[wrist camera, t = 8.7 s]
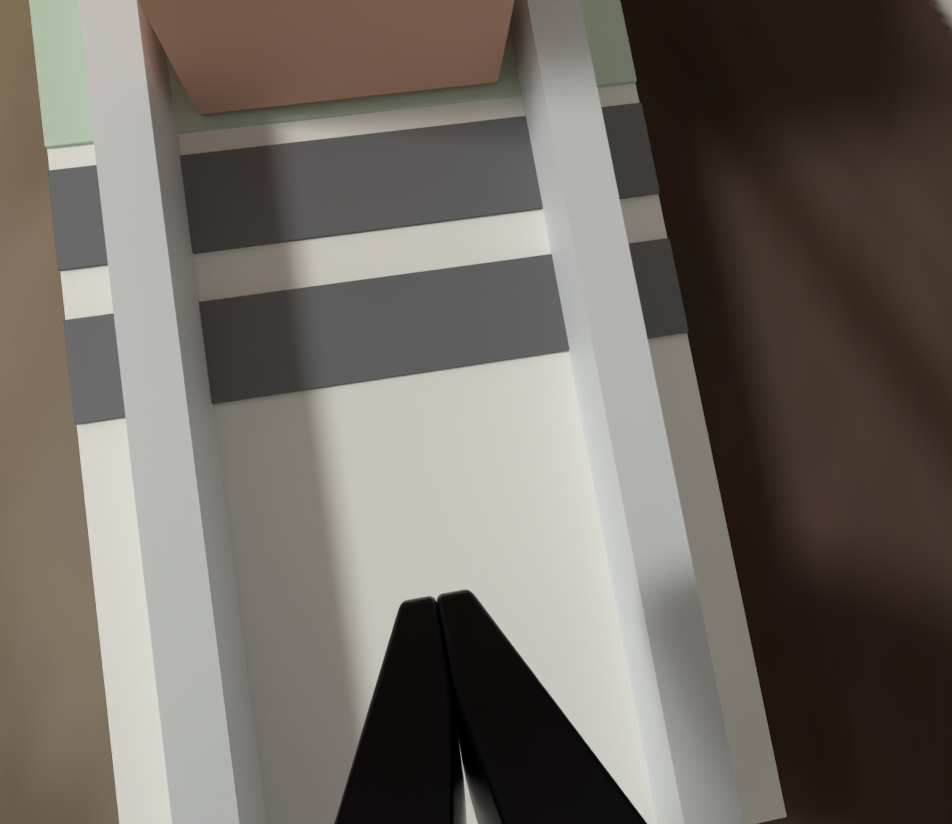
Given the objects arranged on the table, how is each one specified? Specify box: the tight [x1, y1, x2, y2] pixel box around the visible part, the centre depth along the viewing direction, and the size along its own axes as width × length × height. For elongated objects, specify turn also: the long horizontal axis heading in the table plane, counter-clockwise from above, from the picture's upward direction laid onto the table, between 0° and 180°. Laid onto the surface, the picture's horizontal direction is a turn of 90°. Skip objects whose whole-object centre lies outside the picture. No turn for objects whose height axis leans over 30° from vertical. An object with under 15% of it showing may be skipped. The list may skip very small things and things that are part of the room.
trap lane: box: [29, 0, 787, 824], centre depth 12 cm, size 21×12×7 cm, turn 10°
